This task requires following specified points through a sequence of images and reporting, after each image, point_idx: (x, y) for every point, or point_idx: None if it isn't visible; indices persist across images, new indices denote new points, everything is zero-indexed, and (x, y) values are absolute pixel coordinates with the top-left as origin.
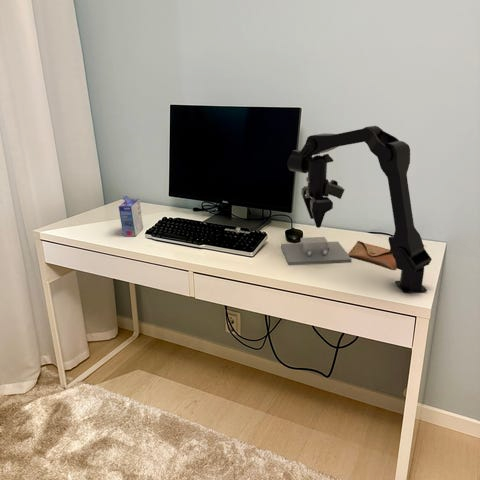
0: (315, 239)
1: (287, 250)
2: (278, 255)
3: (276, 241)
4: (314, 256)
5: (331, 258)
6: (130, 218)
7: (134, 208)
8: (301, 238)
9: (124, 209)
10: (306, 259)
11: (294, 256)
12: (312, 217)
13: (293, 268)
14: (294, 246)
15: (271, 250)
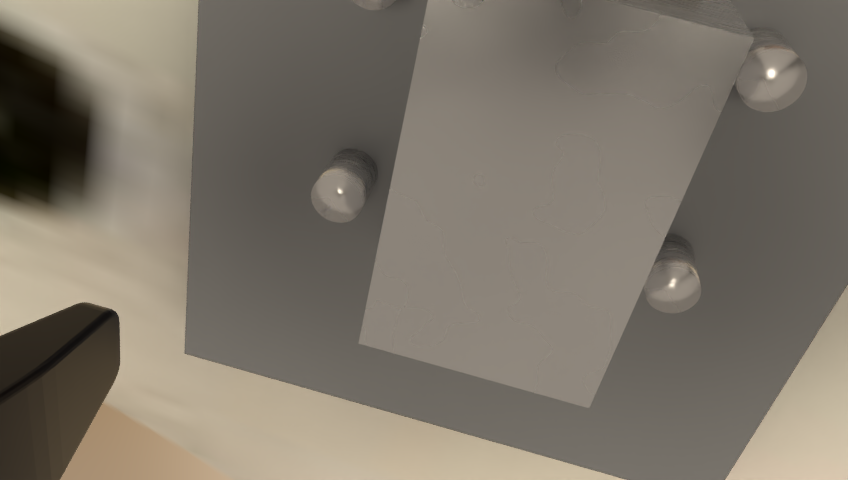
0: (511, 187)
1: (395, 381)
2: (429, 445)
3: (40, 309)
4: (715, 208)
5: None
6: None
7: None
8: (385, 345)
9: None
10: (753, 335)
11: (595, 397)
12: (101, 365)
13: (813, 475)
14: (293, 267)
15: (283, 442)
